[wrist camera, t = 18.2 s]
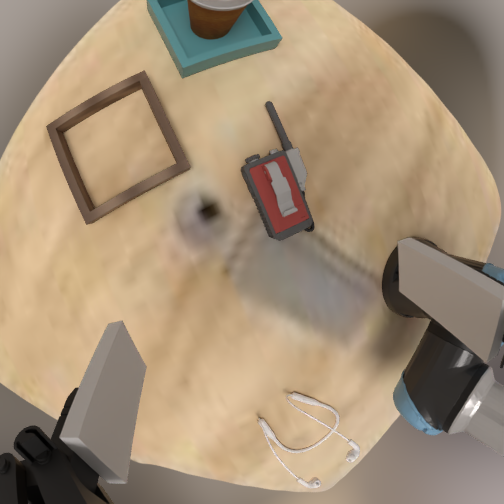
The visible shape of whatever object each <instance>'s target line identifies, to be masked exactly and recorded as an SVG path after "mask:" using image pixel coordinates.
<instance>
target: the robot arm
mask: <svg viewBox="0 0 504 504" xmlns="http://www.w3.org/2000/svg"><path fill="white" fill-rule="evenodd" d="M382 289H383V296H384V300H385V302H386V304H387V306H388V307H389V308H390V309H391V310H392V311H393V312H395V313H397V314H399V315H401V316H403V317H417V318H428V319H430V320H431V321H430V323H429V326H428V328H427V329H426V331H425V333H424V335H423V338H422V339H421V341H420V343H419V345H418V347H417V349H416V351H415V353H414V355H413V356H412V358H411V360H410V362H409V364H408V365H407V367H406V369H405V370H404V371H403V372H402V374H401V378H400V380H399V382H398V384H397V385H396V387H395V389H394V392H393V400H394V404H395V406H396V408H397V410H398V411H399V413H400V414H401V415H402V416H403V417H404V419H405V420H407V421H408V422H409V423H410V424H411V425H412V426H413V427H415V428H416V429H418V430H422V431H423V432H424V433H426V434H429V435H437V434H439V433H440V432H442V431H443V430H444V431H445V432H447V433H448V434H454V433H457V432H465V433H467V434H468V435H470V436H472V437H473V438H475V439H477V440H478V441H480V442H481V443H482V444H484V445H486V446H488V447H489V448H490V449H492V450H493V451H495V452H497V453H499V454H500V455H502V456H503V457H504V386H503V385H501V384H499V383H498V382H496V381H495V380H494V375H493V370H492V367H490V366H488V365H486V364H484V363H483V361H484V362H486V363H487V362H489V361H490V360H491V359H493V358H494V357H495V356H496V355H498V353H499V350H500V347H501V346H502V345H503V344H504V269H502V268H499V267H496V266H494V265H493V264H491V263H483V262H479V261H475V260H471V259H466V258H462V257H458V256H454V255H450V254H447V253H446V252H445V251H443V250H442V249H440V248H438V247H437V246H436V245H435V244H434V243H433V242H431V241H429V240H427V239H423V238H417V237H414V238H410V237H409V238H406V239H403V240H400V241H398V246H397V247H396V249H395V250H394V251H393V253H392V254H391V256H390V258H389V260H388V262H387V264H386V267H385V270H384V275H383V283H382ZM503 365H504V356H503V359H502V361H501V365H500V368H503ZM145 372H146V365H145V363H144V361H143V360H142V358H141V356H140V354H139V352H138V350H137V348H136V347H135V345H134V343H133V341H132V339H131V337H130V335H129V333H128V331H127V329H126V327H125V325H124V323H123V321H118V322H114V323H110V324H108V325H107V327H106V329H105V331H104V334H103V336H102V338H101V340H100V342H99V344H98V346H97V348H96V350H95V352H94V355H93V357H92V359H91V361H90V363H89V366H88V368H87V370H86V372H85V375H84V377H83V379H82V381H81V384H80V386H79V388H75V389H74V390H73V391H72V393H71V394H70V395H69V396H68V398H67V400H66V402H65V405H64V408H63V410H62V412H61V416H60V417H59V419H58V422H57V425H56V427H55V430H54V432H53V435H52V437H51V439H50V438H49V437H48V436H47V435H46V434H45V433H44V432H43V431H42V430H41V429H40V428H39V427H37V426H29V427H26V428H24V429H23V430H22V431H21V432H20V433H19V434H18V435H17V437H16V439H15V442H14V449H15V450H16V451H17V452H18V453H19V454H20V455H21V456H22V457H23V458H24V459H25V460H23V461H19V460H18V459H17V458H16V457H14V456H13V455H12V454H10V453H4V454H2V455H0V504H114V503H113V502H112V500H111V499H110V497H109V496H108V495H107V493H106V492H105V490H104V489H103V487H102V486H100V485H99V484H98V478H99V476H100V477H102V478H103V479H104V480H105V481H106V482H108V483H117V484H118V483H119V484H127V478H128V471H129V463H130V456H131V449H132V443H133V436H134V430H135V424H136V419H137V413H138V407H139V402H140V397H141V392H142V387H143V382H144V377H145Z"/></svg>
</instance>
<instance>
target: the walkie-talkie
mask: <svg viewBox="0 0 504 504" xmlns="http://www.w3.org/2000/svg"><path fill="white" fill-rule="evenodd" d="M265 105H266V108H267V110H268V112H269V114H270V116H271V119H272V121H273V123H274V125H275V128H276V130H277V132H278V134H279V137H280V139H281V141H282V146H283V148H284V150H282V151H278V150H277V149H274V150H271V151H269V152H270V155H269V156H267V157H264V158H261V159H259V158H260V156H259V154H257V155H254V156H251V157H249V158H247V159H245V161H246V163H249V164H247V165H244V166H243V167H241V172H242V175H243V178H244V179H245V182H246V184H247V186H248V189H249V192H250V193H251V196H252V198H253V199H254V202H255V203H256V206H257V209H258V210H259V213H260V216H261V217H262V220H263V223H264V224H265V225H264V226H265V227H266V230H267V233H268V234H269V237H272V238H274V239H277V240H279V241H280V240H283V239H285V238H287V237H289V236H291V235H293V234H296V233H298V232H300V231H302V230H304V229H305V231H307V232H310V231H313V230H314V222H313V219H312V216H311V214H310V211H309V208H308V205H307V203H306V201H305V192H304V190H306V189H305V187H304V186H305V181H306V177H307V171H306V169H305V166H304V164H303V161H302V159H301V156H300V151H299V149H298V148H295V149H293V147H292V144H291V142H290V141H289V140H288V137H287V135H286V133H285V131H284V128H283V126H282V124H281V121H280V119H279V117H278V115H277V113H276V110H275V108H274V106H273V104H272V102H270V101H268V102H266V104H265ZM310 226H311V228H310V229H308V227H310Z"/></svg>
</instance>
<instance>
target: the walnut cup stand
mask: <svg viewBox="0 0 504 504" xmlns="http://www.w3.org/2000/svg"><path fill="white" fill-rule="evenodd" d="M140 89H142V90H143V92H144V94H145V97H146V99H147V101H148V103H149V105H150V107H151V110H152V112H153V114H154V116H155V118H156V120H157V122H158V125H159V127H160V129H161V131H162V133H163V135H164V137H165V139H166V142H167V144H168V146H169V148H170V150H171V152H172V154H173V156H174V158H175V160H176V162H177V164H175V165H173V166H171V167H169V168H167V169H165V170H163V171H161V172H159V173H157V174H155V175H153V176H151V177H150V178H148V179H146V180H144V181H142V182H140V183H138V184H137V185H135V186H133V187H131V188H129V189H128V190H126V191H124V192H122V193H121V194H119V195H117V196H115V197H114V198H112V199H110V200H109V201H107V202H105V203H104V204H102V205H100V206H99V207H97V208H94V206H93V204H92V201H91V199H90V197H89V195H88V193H87V191H86V188H85V186H84V184H83V181H82V179H81V177H80V175H79V172H78V170H77V167H76V165H75V163H74V160H73V158H72V155H71V153H70V150H69V147H68V145H67V142H66V140H65V137H64V134H63V133H64V132H65V131H67V130H68V129H70V128H71V127H73V126H75V125H76V124H78V123H79V122H81V121H83V120H84V119H86V118H88V117H89V116H91V115H93V114H94V113H96V112H98V111H100V110H101V109H103V108H105V107H107V106H109V105H110V104H112V103H114V102H116V101H118V100H120V99H122V98H124V97H126V96H128V95H130V94H132V93H134V92H136V91H138V90H140ZM46 127H47V130H48V133H49V136H50V139H51V142H52V144H53V147H54V150H55V153H56V155H57V158H58V161H59V163H60V166H61V168H62V171H63V173H64V176H65V178H66V180H67V183H68V185H69V187H70V190H71V192H72V194H73V197H74V199H75V201H76V203H77V206H78V208H79V210H80V212H81V214H82V216H83V218H84V220H85V223H86V225H87V224H91V223H94V222H95V221H97V220H99V219H100V218H102V217H103V216H105V215H107V214H109V213H110V212H112V211H114V210H115V209H117V208H119V207H120V206H122V205H124V204H126V203H127V202H129V201H131V200H133V199H135V198H136V197H138V196H140V195H142V194H144V193H145V192H147V191H149V190H151V189H153V188H155V187H157V186H158V185H160V184H162V183H164V182H166V181H168V180H170V179H172V178H174V177H176V176H178V175H180V174H182V173H184V172H186V171H188V170H190V165H189V163H188V161H187V159H186V156H185V154H184V152H183V150H182V148H181V146H180V144H179V142H178V140H177V138H176V136H175V134H174V132H173V129H172V127H171V125H170V123H169V121H168V119H167V117H166V115H165V113H164V110H163V108H162V106H161V104H160V102H159V100H158V98H157V96H156V93H155V91H154V89H153V87H152V85H151V83H150V81H149V78H148V76H147V74H146V72H145V70H144V71H142V72H140V73H138V74H136V75H134V76H131V77H129V78H127V79H125V80H123V81H121V82H119V83H117V84H115V85H114V86H112V87H110V88H108V89H106V90H104V91H102V92H100V93H99V94H97V95H95V96H93V97H92V98H90V99H88V100H86V101H85V102H83V103H81V104H80V105H78V106H76V107H75V108H73V109H72V110H70V111H68V112H67V113H65V114H64V115H62V116H61V117H59V118H58V119H56V120H55V121H53V122H52V123H50V124H49V125H47V126H46Z"/></svg>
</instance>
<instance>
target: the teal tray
mask: <svg viewBox="0 0 504 504" xmlns="http://www.w3.org/2000/svg"><path fill="white" fill-rule="evenodd" d="M147 9H148V12H149V14H150V16H151V18H152V19H153V21H154V23H155V25H156V27H157V29H158V31H159V33H160V35H161V37H162V39H163V41H164V43H165V45H166V47H167V49H168V51H169V53H170V55H171V57H172V59H173V61H174V63H175V65H176V67H177V69H178V71H179V73H180V75H181V77H182V78H185V77H187V76H190V75H192V74H195V73H198V72H200V71H203V70H206V69H208V68H211V67H214V66H217V65H220V64H223V63H226V62H229V61H232V60H235V59H238V58H242V57H245V56H249V55H252V54H256V53H259V52H263V51H267V50H271V49H275V48H276V46H277V45H278V44H279V42H280V41H281V40H282V37H281V35H280V33H279V32H278V30H277V28H276V27H275V25H274V24H273V22H272V20H271V19H270V17H269V16H268V14H267V13H266V11H265V10H264V8H263V7H262V5H261V4H260V2H259V1H258V0H253V1H252V2H251V3H250V4H248V5H247V6H246V8H245V9H244V11H243V12H242V13H241V15H240V16H239V18H238V19H237V21H236V22H235V23H234V25H233V26H232V28H231V29H230V31H229V32H228V33H227V35H225V36H224V37H221V38H218V39H213V40H211V39H204V38H201V37H198V36H197V35H195V34H194V33H193V31H192V30H191V27H190V18H189V11H188V2H187V0H147Z"/></svg>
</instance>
